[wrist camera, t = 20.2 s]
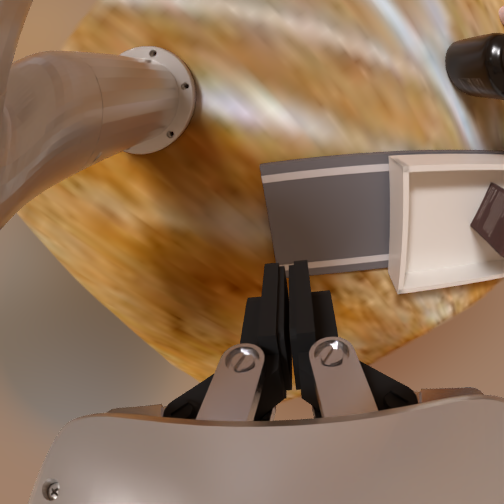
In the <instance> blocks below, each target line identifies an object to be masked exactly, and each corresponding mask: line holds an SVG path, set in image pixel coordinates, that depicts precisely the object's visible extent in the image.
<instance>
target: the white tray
mask: <svg viewBox="0 0 504 504" xmlns="http://www.w3.org/2000/svg"><path fill="white" fill-rule="evenodd" d="M388 157H389V180H390V239H389V263H388V273H389V275H390V278H391V280H392V282H393V285H394V287H395V289H396V292H397V294H404V293H411V292H418V291H425V290H432V289H439V288H445V287H452V286H458V285H464V284H470V283H476V282H481V281H487V280H492V279H498V278H503V277H504V258H503V257H501V256H500V255H499V254H498V253H497V252H496V251H495V250H494V249H493V248H492V247H491V246H490V245H489V244H488V243H487V242H486V241H485V240H484V239H483V238H482V237H481V236H480V235H479V234H478V233H477V232H476V231H475V230H474V229H473V228H472V227H471V226H470V224H471V222H472V221H473V219H474V217H475V215H476V213H477V211H478V209H479V207H480V205H481V203H482V201H483V199H484V196H485V194H486V192H487V190H488V188H489V185H490V183H491V182H492V183H495V184H497V185H498V186H500V187H502V188H503V189H504V155H500V154H415V155H392V156H388Z"/></svg>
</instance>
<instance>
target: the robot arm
mask: <svg viewBox="0 0 504 504" xmlns="http://www.w3.org/2000/svg"><path fill="white" fill-rule="evenodd" d="M32 2H33V0H0V230H1V229H2V228H3V227H4V225H5V224H6V223H7V222H8V221H9V220H10V219H11V218H12V217H13V216H14V215H15V214H16V213H17V212H18V211H19V210H20V209H21V208H22V207H23V206H24V205H26V204H27V203H28V202H29V201H31V200H32V199H33V198H35V197H36V196H38V195H39V194H41V193H42V192H43V191H45V190H47V189H48V188H50V187H52V186H53V185H55V184H57V183H59V182H60V181H62V180H64V179H66V178H68V177H70V176H72V175H73V174H75V173H77V172H79V171H81V170H83V169H85V168H87V167H89V166H91V165H93V164H95V163H97V162H100V161H102V160H104V159H106V158H108V157H110V156H112V155H115V154H117V153H119V152H121V151H124V152H128V153H132V154H148V153H153V152H156V151H158V150H161V149H163V148H165V147H167V146H168V145H170V144H171V143H173V142H174V141H175V140H176V139H177V138H178V137H179V136H180V135H181V134H182V133H183V132H184V130H185V129H186V127H187V126H188V124H189V122H190V120H191V117H192V115H193V112H194V107H195V100H196V91H195V84H194V80H193V78H192V75H191V72H190V71H189V69H188V67H187V66H186V64H185V63H184V62H183V61H182V60H181V59H180V58H179V57H178V56H176V55H175V54H173V53H172V52H170V51H168V50H165V49H162V48H159V47H154V46H141V47H136V48H132V49H130V50H127V51H125V52H123V53H121V54H120V55H111V54H101V53H88V52H71V51H46V52H39V53H35V54H32V55H29V56H26V57H24V58H22V59H20V60H18V61H16V62H14V63H12V61H13V57H14V54H15V50H16V47H17V43H18V40H19V37H20V34H21V31H22V28H23V25H24V22H25V19H26V17H27V14H28V11H29V9H30V6H31V4H32ZM155 52H157V54H156V56H155V55H154V54H155ZM187 84H188V85H189V88H186V85H187ZM172 131H173V132H174V135H172V134H171V132H172ZM292 358H293V367H294V375H295V383H296V390H299V389H301V395H302V399H304V400H305V401H307V402H308V403H309V404H311V405H312V411H313V416H314V419H303V420H302V419H301V420H282V421H274V417H275V412H276V405H277V404H278V403H280V402H281V401H282V400H283V399H285V398H286V390H292ZM28 504H504V398H502V397H497V396H491V395H484V394H483V393H482V392H481V391H480V390H478V389H476V388H471V387H465V388H440V389H421V391H420V392H414V391H413V390H411V389H410V388H409V387H407V386H405V385H403V384H401V383H400V382H397V381H396V380H394V379H392V378H390V377H388V376H386V375H384V374H383V373H381V372H379V371H377V370H375V369H373V368H372V367H370V366H368V365H366V364H364V363H363V362H361V361H359V360H358V357H357V355H356V352H355V350H354V348H353V346H352V345H351V343H350V342H348V341H347V340H345V339H343V338H340V337H338V333H337V327H336V321H335V315H334V310H333V304H332V299H331V293H330V290H328V291H319V292H311V287H310V278H309V270H308V261H307V260H300V261H294V265H289V296H288V288H287V280H286V273H285V266H279V263H270V264H265V267H264V277H263V287H262V297H252V298H248V299H247V304H246V310H245V316H244V322H243V328H242V335H241V341H240V344H238V345H234V346H232V347H231V348H229V349H228V350H226V351H225V352H224V354H223V355H222V357H221V359H220V362H219V364H218V366H217V369H216V371H215V374H213V375H212V376H210V377H209V378H207V379H206V380H204V381H203V382H201V383H200V384H198V385H196V386H195V387H193V388H192V389H190V390H189V391H187V392H186V393H184V394H183V395H181V396H180V397H178V398H176V399H175V400H173V401H172V402H171V403H169V404H168V406H164V407H163V406H162V404H157V405H148V406H138V407H126V408H116V409H112V410H110V411H108V412H107V413H96V414H91V415H85V416H81V417H78V418H76V419H73V420H71V421H70V422H68V423H67V424H66V425H65V426H64V427H63V428H62V429H61V430H60V432H59V433H58V435H57V436H56V438H55V440H54V442H53V443H52V445H51V447H50V449H49V451H48V453H47V455H46V458H45V460H44V462H43V465H42V467H41V469H40V471H39V474H38V477H37V479H36V482H35V485H34V488H33V490H32V493H31V496H30V499H29V502H28Z"/></svg>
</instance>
